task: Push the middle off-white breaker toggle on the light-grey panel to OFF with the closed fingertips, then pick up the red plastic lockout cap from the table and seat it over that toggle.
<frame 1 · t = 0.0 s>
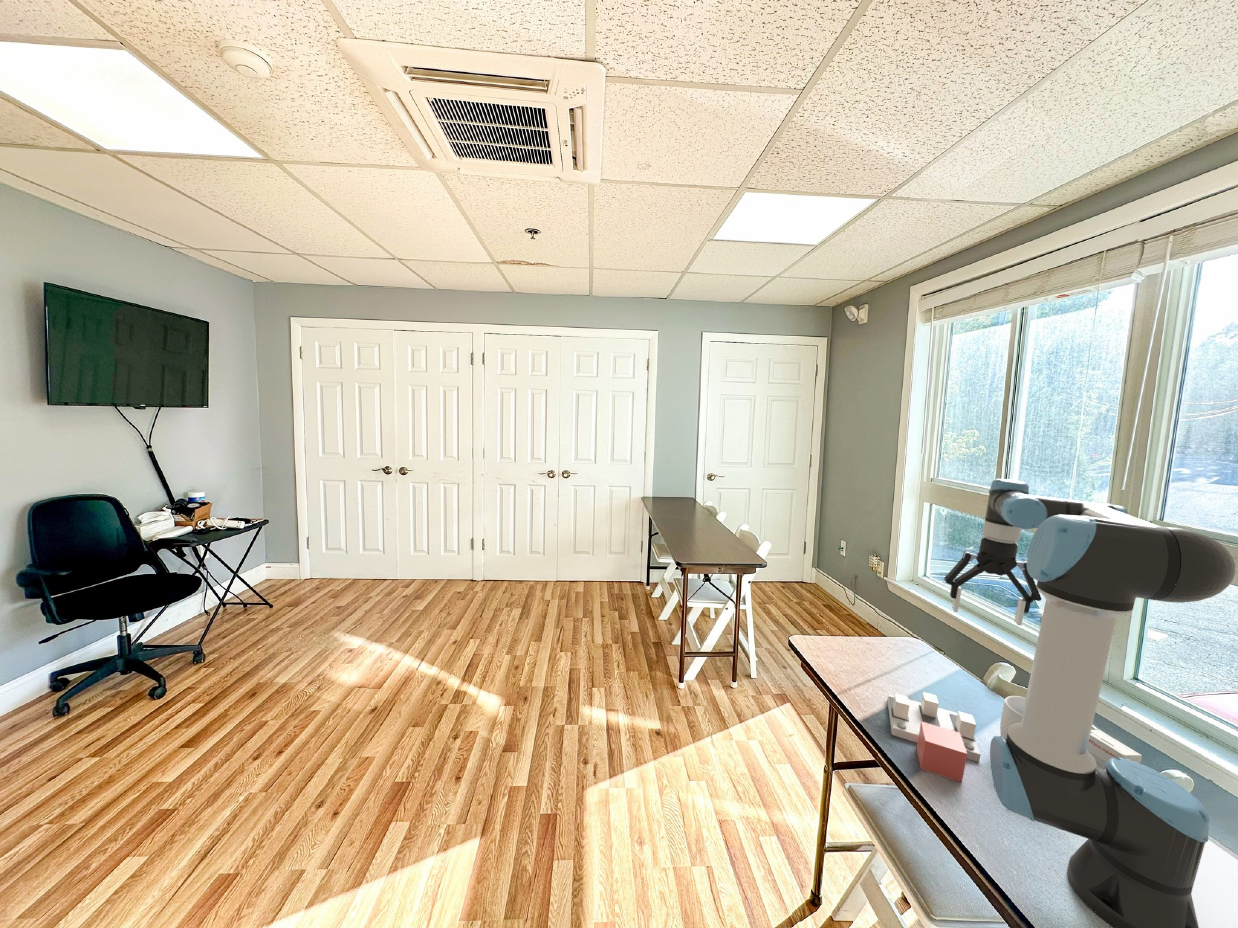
hand: (985, 616, 127), 28 cm above the table, fingers open, 13 cm apart
lockout cap: (938, 764, 111), on the table
ink box: (1100, 790, 106), on the table
toggle 2: (929, 704, 126), point 4 cm above the table, slide at 0.0 cm
toggle 1: (965, 724, 119), point 4 cm above the table, slide at 5.0 cm
toggle 3: (900, 706, 125), point 4 cm above the table, slide at 5.0 cm
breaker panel: (929, 728, 123), on the table
mug: (1029, 763, 113), on the table
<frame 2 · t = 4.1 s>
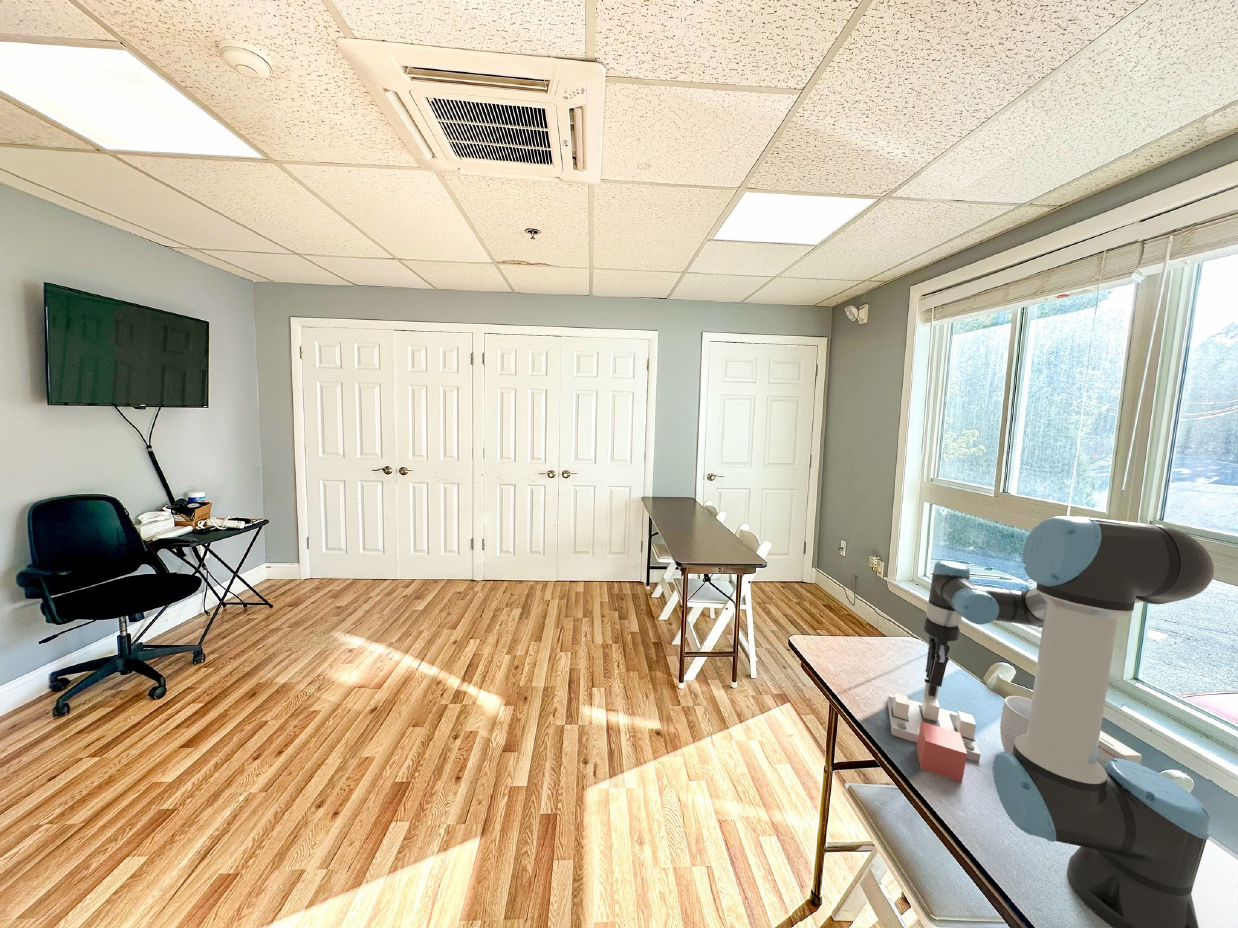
hand: (928, 704, 127), 4 cm above the table, fingers closed
toggle 2: (930, 708, 125), point 4 cm above the table, slide at 1.7 cm, touching gripper
everything else where it was.
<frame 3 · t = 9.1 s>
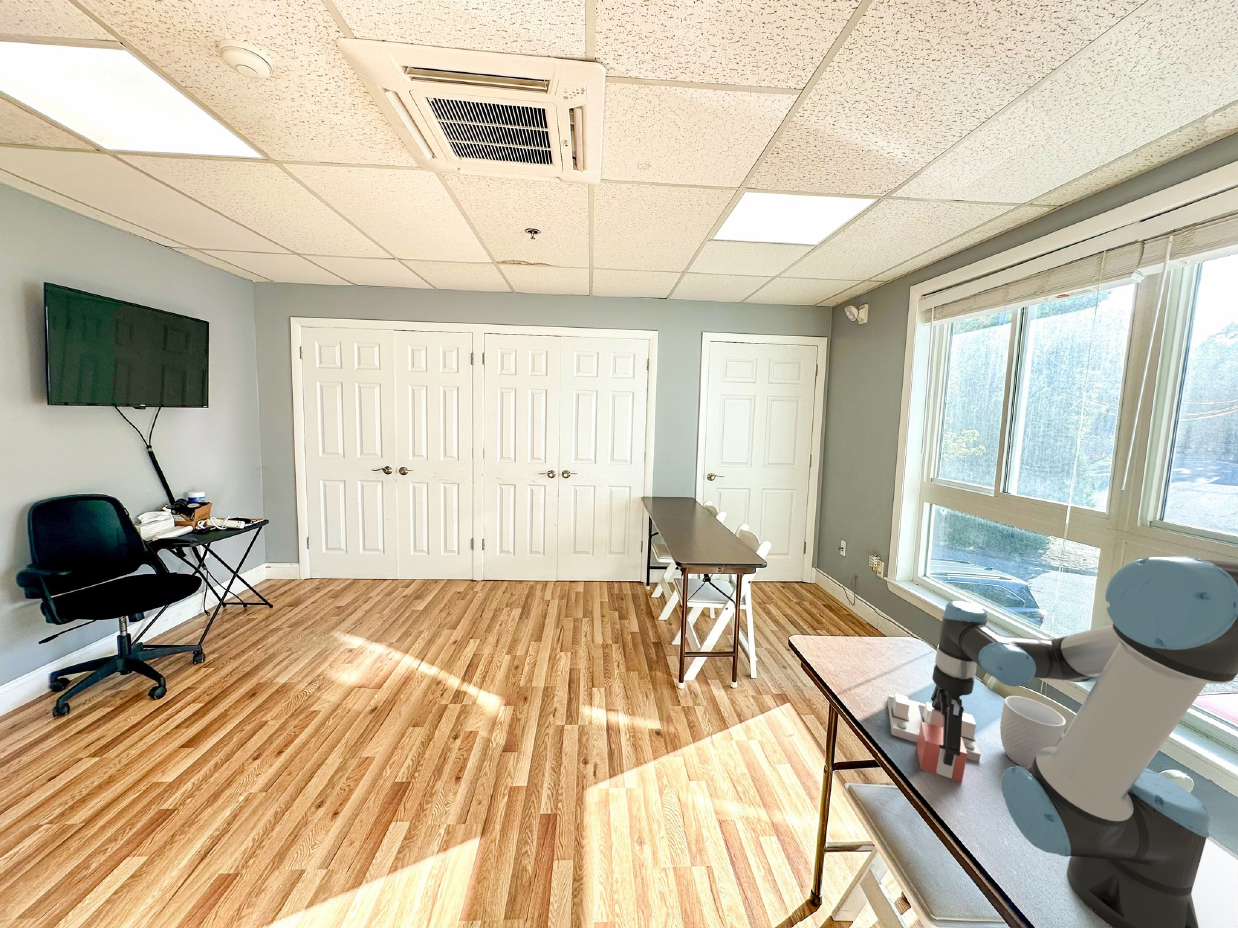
hand: (938, 754, 111), 2 cm above the table, fingers open, 13 cm apart
toggle 2: (932, 715, 122), point 4 cm above the table, slide at 4.9 cm
everything else where it was.
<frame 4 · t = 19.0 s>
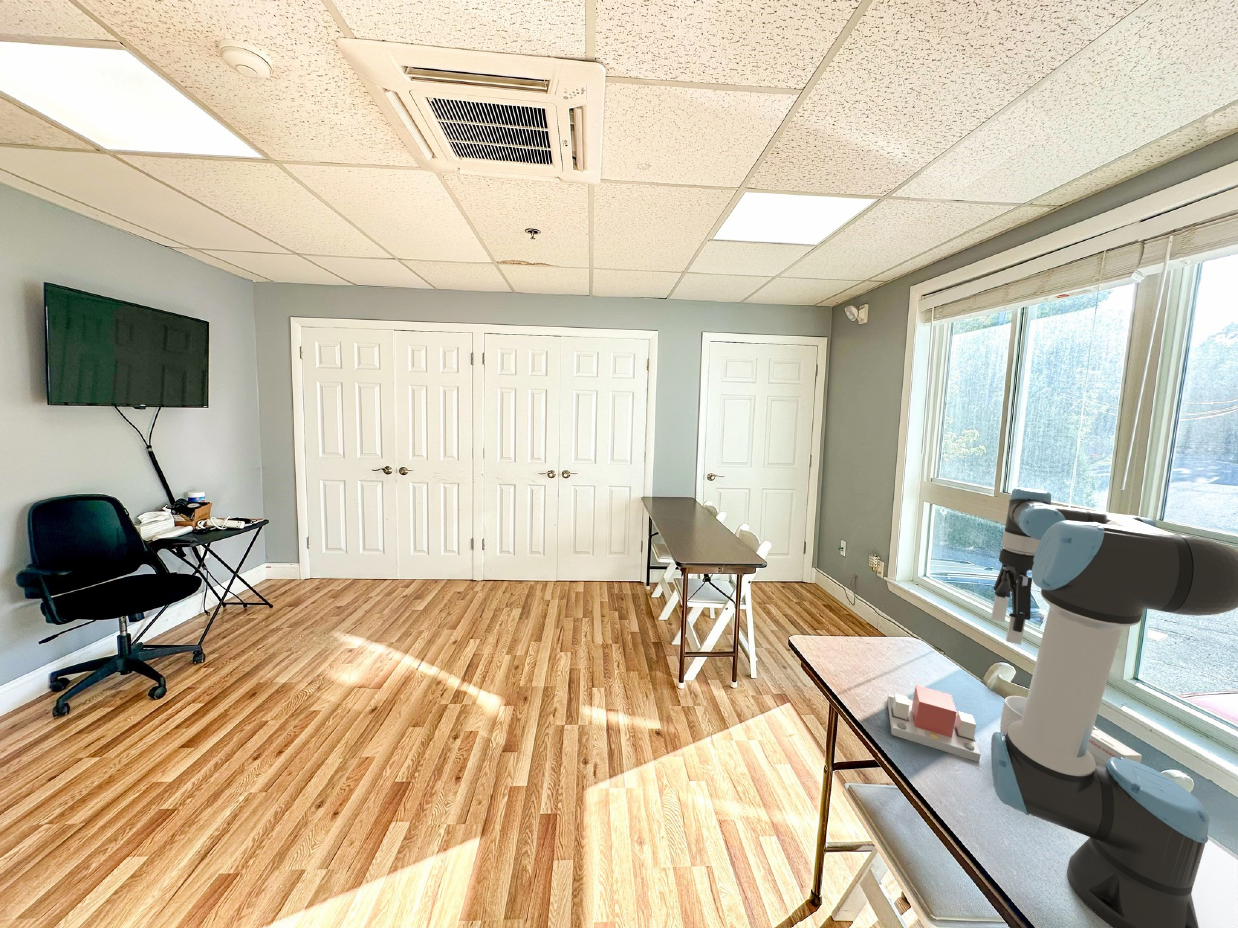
hand: (1005, 630, 122), 27 cm above the table, fingers open, 13 cm apart
lockout cap: (930, 722, 122), point 2 cm above the table, touching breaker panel
everything else where it was.
at the end: toggle 2 slide at 4.9 cm; lockout cap 0.2 cm from the target spot, point 2.1 cm above the table; lockout cap tilted 2° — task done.
